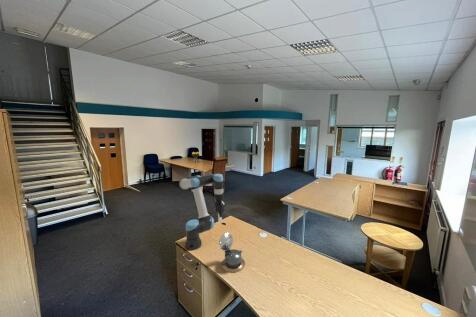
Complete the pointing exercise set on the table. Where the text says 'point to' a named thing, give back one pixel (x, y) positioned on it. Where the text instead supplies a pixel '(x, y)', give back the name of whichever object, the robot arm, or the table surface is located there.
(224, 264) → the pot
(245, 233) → the table surface
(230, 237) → the lid
